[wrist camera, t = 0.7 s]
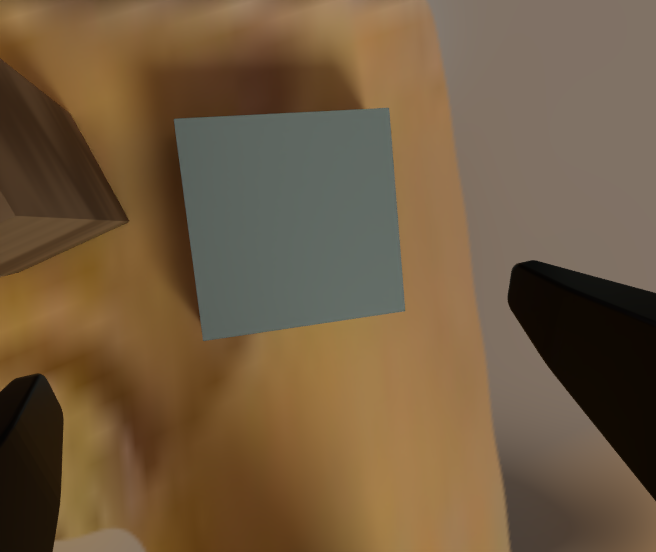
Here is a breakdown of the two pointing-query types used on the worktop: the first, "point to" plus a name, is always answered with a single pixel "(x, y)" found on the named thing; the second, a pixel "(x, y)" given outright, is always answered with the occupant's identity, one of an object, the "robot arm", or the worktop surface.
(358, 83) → the worktop surface
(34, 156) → the walnut pillar
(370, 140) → the base block
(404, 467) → the worktop surface
